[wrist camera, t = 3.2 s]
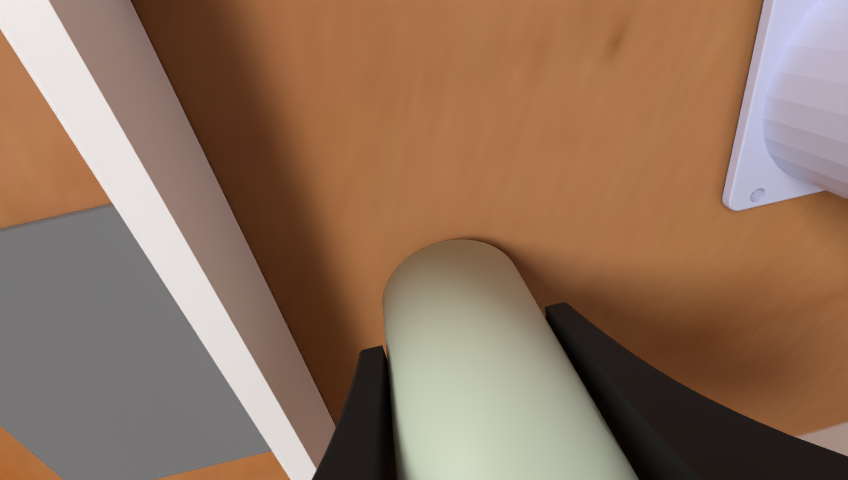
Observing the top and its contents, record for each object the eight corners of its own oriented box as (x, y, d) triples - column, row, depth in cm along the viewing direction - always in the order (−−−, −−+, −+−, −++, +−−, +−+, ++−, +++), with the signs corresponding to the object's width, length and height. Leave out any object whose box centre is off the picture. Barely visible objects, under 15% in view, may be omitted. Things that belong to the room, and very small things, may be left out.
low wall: (138, -151, 9) (45, -213, 6) (403, 502, 22) (409, 569, 19) (-59, -110, 8) (-241, -155, 6) (328, 520, 22) (324, 590, 19)
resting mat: (148, 195, 12) (143, 199, 12) (291, 439, 18) (291, 446, 18) (-167, 266, 12) (-179, 272, 12) (87, 489, 18) (83, 496, 18)
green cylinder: (516, 224, 14) (674, 453, 7) (524, 334, 16) (645, 579, 9) (366, 259, 14) (376, 526, 7) (399, 363, 16) (430, 634, 9)
